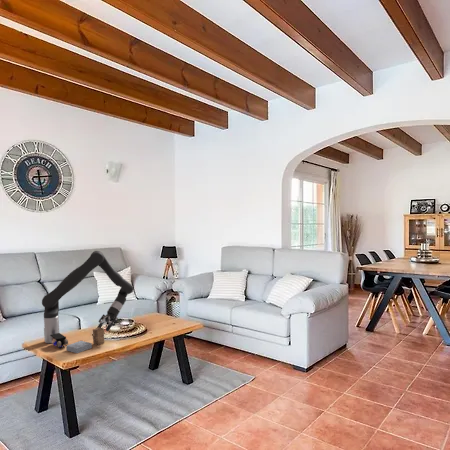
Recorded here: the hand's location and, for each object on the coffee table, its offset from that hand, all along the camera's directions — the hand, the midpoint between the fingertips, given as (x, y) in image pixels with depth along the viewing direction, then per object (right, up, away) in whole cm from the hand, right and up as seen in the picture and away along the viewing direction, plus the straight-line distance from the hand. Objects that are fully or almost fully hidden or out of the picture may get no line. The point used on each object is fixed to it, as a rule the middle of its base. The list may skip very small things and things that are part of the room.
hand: (102, 329), depth 258 cm
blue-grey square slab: (-11, -9, -12) cm, 19 cm away
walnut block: (-2, -9, -3) cm, 9 cm away
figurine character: (-27, -10, -5) cm, 29 cm away
